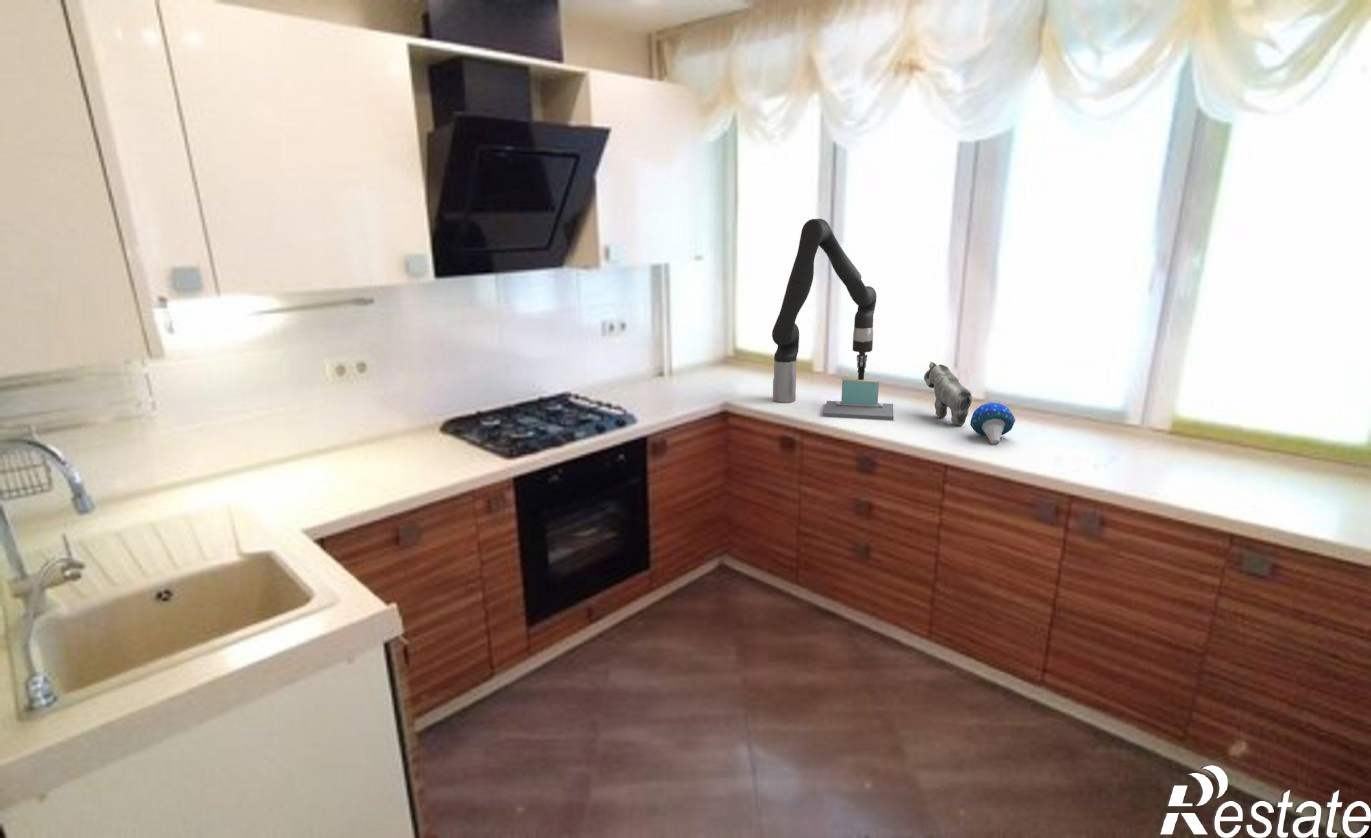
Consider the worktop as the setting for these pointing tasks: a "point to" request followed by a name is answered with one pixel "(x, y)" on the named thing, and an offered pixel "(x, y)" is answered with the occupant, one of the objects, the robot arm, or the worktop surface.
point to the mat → (859, 411)
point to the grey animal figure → (948, 393)
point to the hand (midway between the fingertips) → (860, 381)
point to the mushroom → (992, 421)
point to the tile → (860, 392)
